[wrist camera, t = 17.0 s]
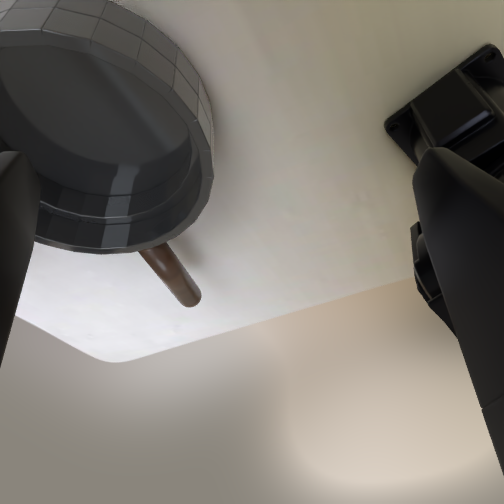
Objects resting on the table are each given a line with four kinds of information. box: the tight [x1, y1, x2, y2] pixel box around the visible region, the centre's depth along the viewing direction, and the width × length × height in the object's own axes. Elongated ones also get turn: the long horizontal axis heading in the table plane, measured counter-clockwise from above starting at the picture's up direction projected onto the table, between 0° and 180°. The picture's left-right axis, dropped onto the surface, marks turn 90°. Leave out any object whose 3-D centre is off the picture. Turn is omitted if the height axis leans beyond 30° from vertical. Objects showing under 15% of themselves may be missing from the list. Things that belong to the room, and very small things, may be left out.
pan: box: [0, 0, 214, 254], centre depth 21 cm, size 13×13×4 cm
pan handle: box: [138, 242, 201, 307], centre depth 28 cm, size 9×2×2 cm, turn 16°
